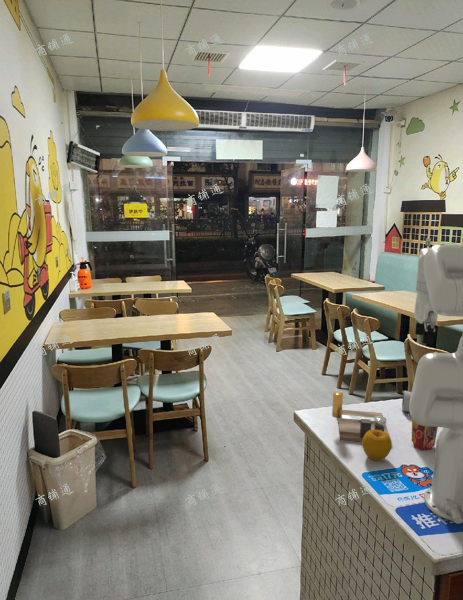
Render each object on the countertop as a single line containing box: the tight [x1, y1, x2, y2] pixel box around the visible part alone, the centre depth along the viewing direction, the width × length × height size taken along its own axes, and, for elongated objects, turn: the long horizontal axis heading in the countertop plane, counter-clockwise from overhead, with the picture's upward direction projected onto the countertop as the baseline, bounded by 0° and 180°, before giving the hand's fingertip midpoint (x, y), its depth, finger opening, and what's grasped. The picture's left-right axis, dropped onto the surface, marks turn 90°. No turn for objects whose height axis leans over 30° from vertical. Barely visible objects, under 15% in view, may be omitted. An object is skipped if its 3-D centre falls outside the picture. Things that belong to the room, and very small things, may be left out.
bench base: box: [337, 409, 391, 444], centre depth 149 cm, size 20×16×7 cm
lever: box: [331, 391, 387, 427], centre depth 144 cm, size 18×4×10 cm, turn 79°
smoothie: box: [411, 419, 439, 451], centre depth 136 cm, size 8×8×20 cm
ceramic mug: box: [401, 390, 412, 413], centre depth 162 cm, size 11×8×8 cm
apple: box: [361, 430, 392, 461], centre depth 131 cm, size 9×8×9 cm
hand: (424, 338), depth 140 cm, fingers open, 9 cm apart
